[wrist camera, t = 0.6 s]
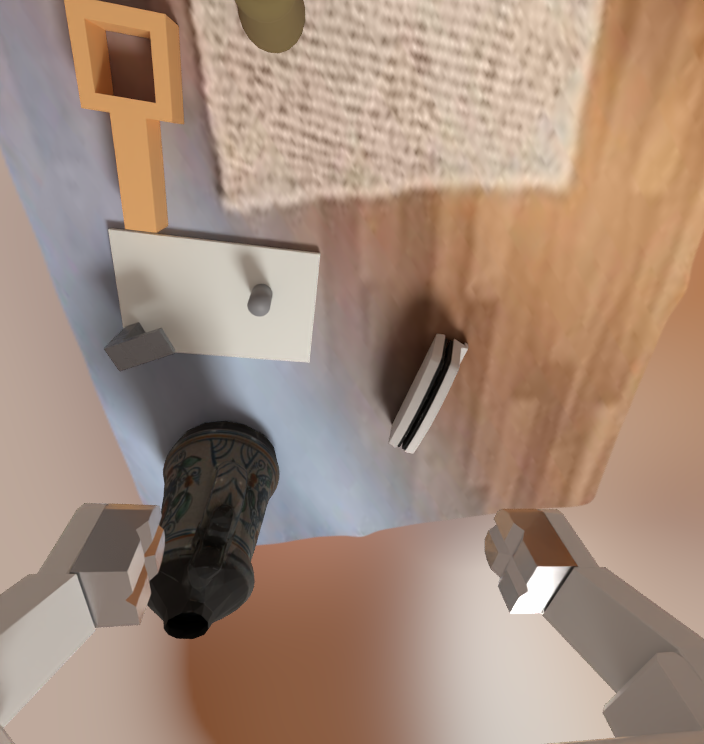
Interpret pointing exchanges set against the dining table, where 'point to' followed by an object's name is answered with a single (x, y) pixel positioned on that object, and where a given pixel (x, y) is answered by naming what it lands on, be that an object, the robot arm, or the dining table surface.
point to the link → (130, 100)
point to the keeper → (138, 346)
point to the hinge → (427, 393)
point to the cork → (272, 22)
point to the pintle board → (217, 294)
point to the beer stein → (211, 524)
